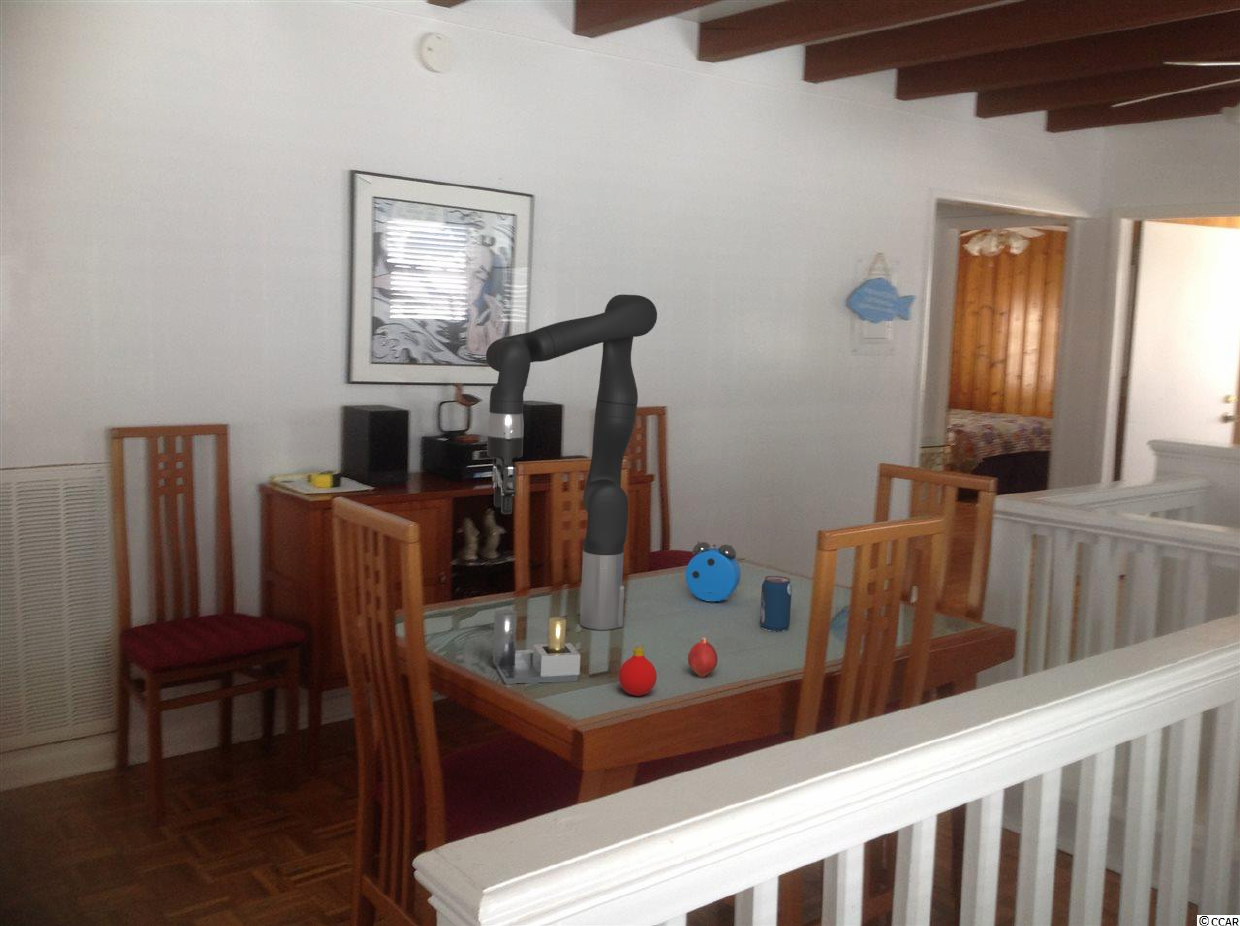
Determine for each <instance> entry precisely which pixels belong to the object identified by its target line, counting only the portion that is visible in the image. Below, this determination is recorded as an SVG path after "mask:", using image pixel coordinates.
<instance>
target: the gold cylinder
mask: <svg viewBox="0 0 1240 926" xmlns="http://www.w3.org/2000/svg"><path fill="white" fill-rule="evenodd" d="M548 619H549V620H548V640H547V642H548V643H547V644H548V654H552V653H564V650H565V643H566V627H567V625H566V623H567V618H564V617H561V616H552V617H549V618H548Z"/></svg>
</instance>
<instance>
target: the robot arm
mask: <svg viewBox="0 0 1240 926" xmlns="http://www.w3.org/2000/svg"><path fill="white" fill-rule="evenodd" d="M657 320H658V311H657V308H656V305H655V303H654V302H653V301H652V300H651V299H650V298H647V297H646V296H643V295H638V294H617V295H614V296H613V297H612V298H610V299H609V301H608V302H607V304H606V305H605V307H604V312H601V313H598V314H593V315H589V316H585V317H580V318H574V319H568V320H562V321H560V322H559V321H558V322H555V323H551V324H549V325H546V326H542V327H540V328H537V329H535V330H531V331H528V332H524V333H523V332H522V333H520V334H513V335H509V336H505V337H502V338H499V339H495V340H494V341H493V342H492V343H491V344H490V345H489V346H488V347H487V350H486V354H485V358H486V363H487V364H488V366H489V367H490V368H491V369H492V370H494V371H497V372H498V375H497V383H496V384H495V385H493V386H492V388H491V389H490V394H489V411H488V412H489V415H488V421H487V435H486V436H487V439H486V441H487V442H486V443H487V444H486V455H487V456H488V457H491V458H492V472H491V473H492V477H491V485H492V487H493V491H494V492H493V494H494V495H493V506H494V507H495V508H500V512H501V514H503V515H512V513H513V500H514V499H513V498H514V496H515V495H516V493H517V469H518V468H517V465H514V463H513V462H514V461H513V459H520V458H522V457H523V454H524V452H523V451H524V450H523V449H524V448H523V447H524V428H525V427H524V425H525V424H524V392H525V389H526V386H527V382H528V378H529V374H530V368H531V363H537V362H539V363H540V362H546V361H551V360H553V359H556V358H560V357H562V356H566V355H568V354H571V353H575V352H577V351H579V350H583V349H585V348H589V347H592V346H595V345H598V344H601V343H602V355H601V356H602V357H601V364H600V365H601V366H600V372H599V373H600V374H599V381H598V390H597V396H596V405H595V411H594V422H593V423H594V424H593V434H592V448H591V449H592V451H591V452H592V453H591V460H590V464H589V468H588V469H589V470H588V474H587V478H586V482H585V487H584V490H583V494H582V503H583V507H584V510H585V512H587V519H586V520H587V522H586V532H585V533H586V534H585V535H584V536H585V537H584V539H583V542H582V544H583V545H582V566H581V567H582V568H581V569H582V570H581V585H580V586H581V589H580V590H581V591H580V593H581V594H580V608H579V609H580V613H579V625H580V626H581V627H583V628H585V629H589V630H598V631H599V630H600V631H605V630H606V631H607V630H613V629H614V630H615V629H618V628H623V627H624V626H623V625H624V623H623V622H624V606H625V585H623V571H624V569H623V568H624V567H623V566H624V550H625V549H624V548H625V544H626V540H627V533H628V521H629V520H628V519H629V499H628V495H627V493H626V492H625V490H624V489H623V488H622V468H623V463H624V462H623V461H624V457H625V454H626V450H627V448H628V445H629V443H630V440H631V437H632V435H633V431H634V428H635V423H636V416H637V410H638V403H639V399H638V398H639V395H638V394H639V393H638V387H637V383H636V379H635V374H634V370H633V366H632V349H633V342H634V341H633V340H634V338H635V337H636V338H638V337H642V336H645V335H647V334H648V333H650V332H651V331H652V330H653V329H654V328H655V325H656V323H657Z"/></svg>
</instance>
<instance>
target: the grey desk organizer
mask: <svg viewBox="0 0 1240 926" xmlns="http://www.w3.org/2000/svg"><path fill="white" fill-rule="evenodd" d="M493 621H494V622H493V623H494V624H493V647H492V648H493V649H492V650H493V651H492V654H493V655H492V663H493V664H494V667H495V669H496V671H497V672H498V674H499V675H500V678H501V680H503V682H504V684H505V683H506V684H511V683H515V684H514V685H517V684H516V683H532V682H533V683H532V684H537V683H536V682H552V683H569V682H579V676H580V670H581V669H580V668H581V654H580V652H579V651H578V650H577V649H576V648H575V646H574V645H573V644H572V643H571V642H567V643H566V642H565V650H564V653H552V654H548V643H541V644H539V643H538V644H532V649H520V650H519V649H517V632H518V631H517V626H518V623H517V621H518V612H517V611H516V610H512V609H498V610H495V611H494V620H493ZM506 684H505V685H506Z"/></svg>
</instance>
